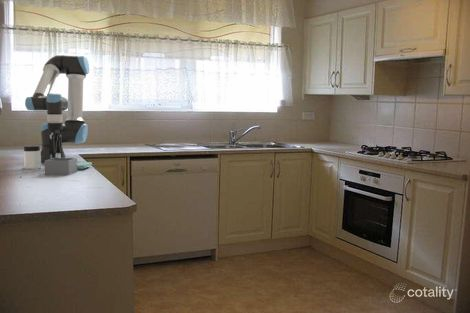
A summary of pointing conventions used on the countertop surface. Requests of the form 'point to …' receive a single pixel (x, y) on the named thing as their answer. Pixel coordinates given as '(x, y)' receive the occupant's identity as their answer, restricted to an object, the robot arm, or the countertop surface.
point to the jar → (32, 157)
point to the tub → (60, 166)
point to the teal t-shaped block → (79, 164)
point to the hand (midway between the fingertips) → (56, 165)
